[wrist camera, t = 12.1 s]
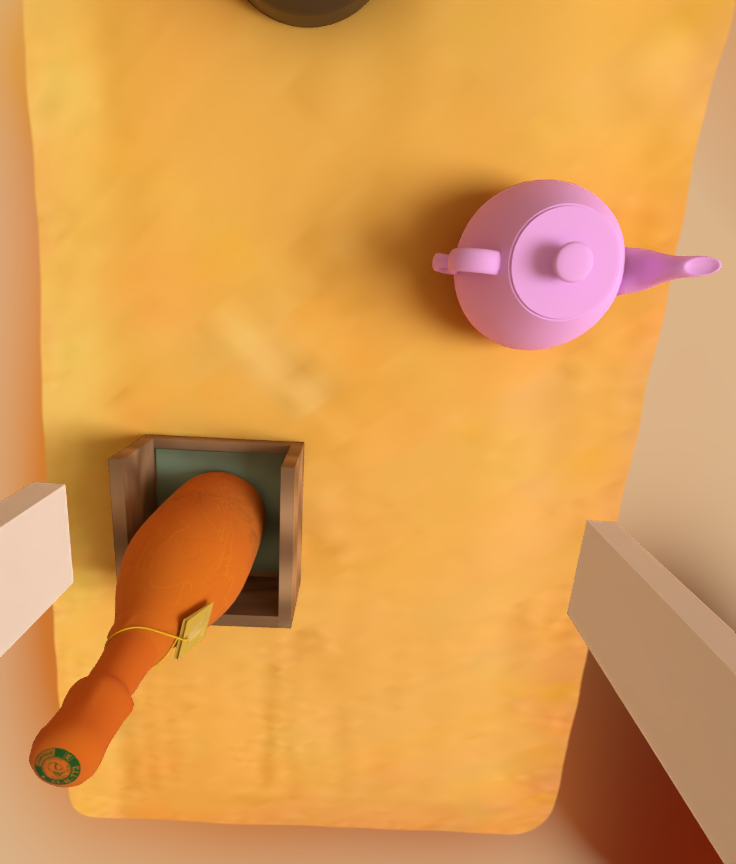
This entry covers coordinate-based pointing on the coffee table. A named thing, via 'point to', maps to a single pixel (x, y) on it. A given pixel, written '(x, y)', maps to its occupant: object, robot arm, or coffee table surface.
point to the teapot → (550, 265)
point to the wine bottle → (156, 613)
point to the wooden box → (249, 459)
